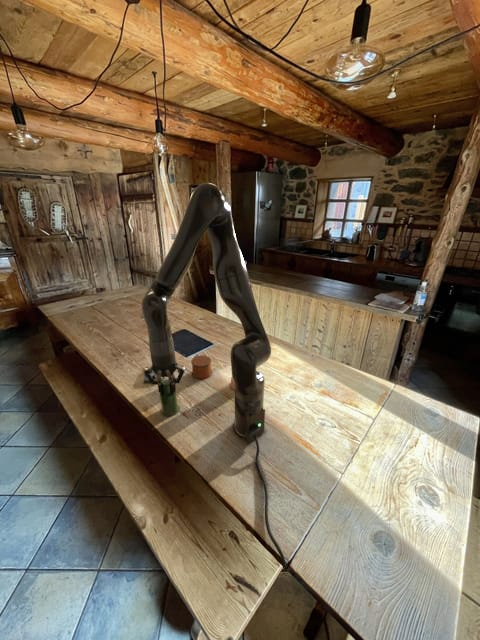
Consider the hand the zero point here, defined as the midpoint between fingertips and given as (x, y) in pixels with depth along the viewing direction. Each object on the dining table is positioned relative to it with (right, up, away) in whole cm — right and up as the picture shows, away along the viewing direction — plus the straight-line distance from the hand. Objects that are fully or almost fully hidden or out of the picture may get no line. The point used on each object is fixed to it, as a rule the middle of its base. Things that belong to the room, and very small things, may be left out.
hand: (167, 392), depth 92 cm
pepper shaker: (+25, -2, +17) cm, 30 cm away
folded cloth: (-11, +1, +23) cm, 25 cm away
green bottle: (0, -7, +3) cm, 8 cm away
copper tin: (+8, +2, +24) cm, 26 cm away
